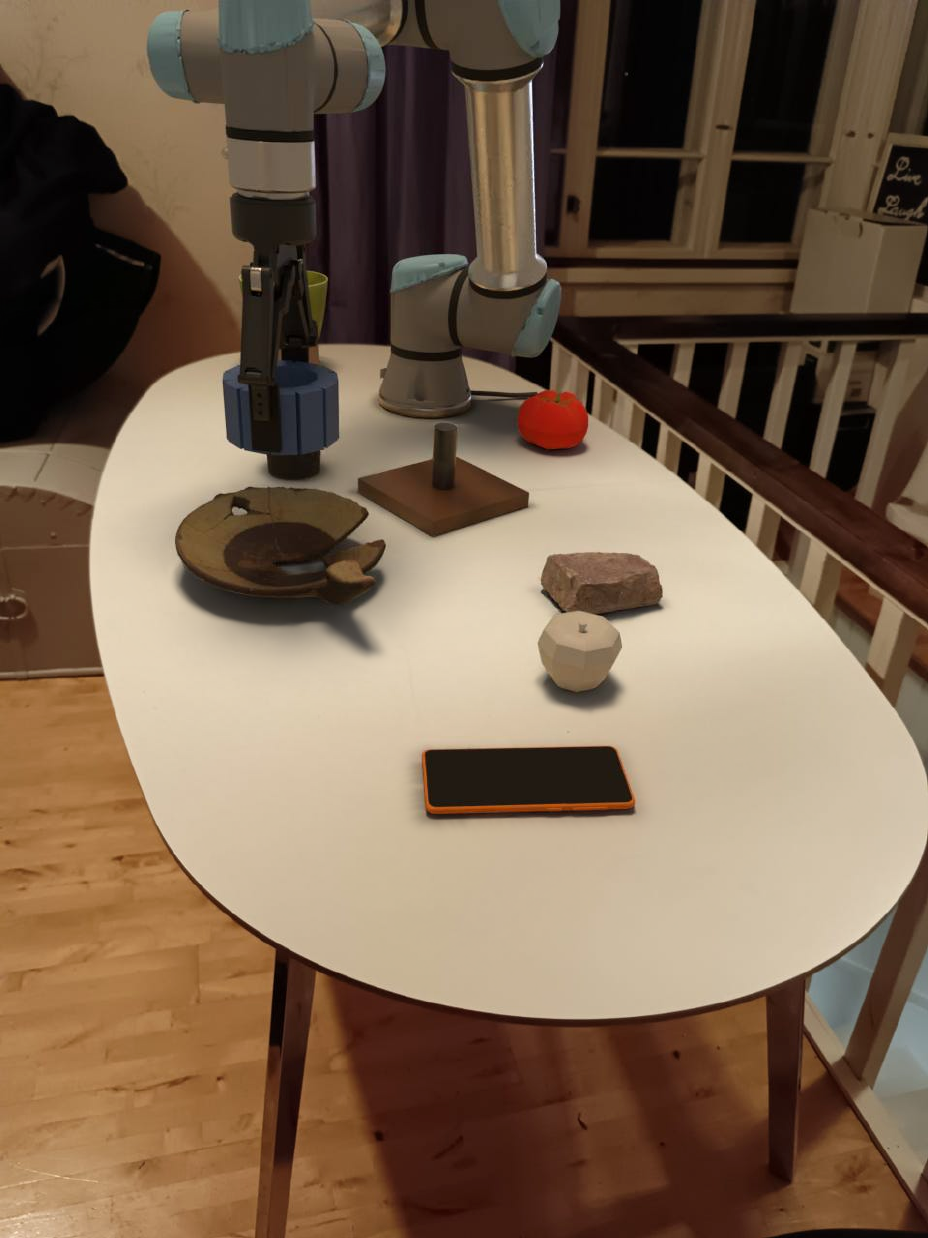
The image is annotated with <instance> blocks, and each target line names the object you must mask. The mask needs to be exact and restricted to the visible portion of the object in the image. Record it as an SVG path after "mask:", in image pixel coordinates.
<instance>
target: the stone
mask: <svg viewBox="0 0 928 1238" xmlns="http://www.w3.org/2000/svg"><path fill="white" fill-rule="evenodd" d="M659 574H660V573H659V570H658V568H657V567H656V565H654V564H651V562H650V561H648V560H647V559H645V558H643V557H641V555H639V554H633V553H628V552H601V551H597V552H594V551H589V552H587V551H586V552H573V553H558V554H555V553H554V554H552V555H551V554H549V555H548V556H547V558H546V561H545V564H544V566H543V569H542V573H541V576H540V585H541V586H542V588H543V589H544V590H545V591H547V592H548V594H549V595H550V598H552V599H553V601H554V602H555V603H557V604H558V607H560V608H561V610H562V611H565V613H568V612H574V611H582V612H586V613H590V614H594V615H598V614H599V615H600V614H604V613H611V612H615V611H620V610H630V609H636V608H641V607H647V606H656V605H657V604H659V603H660V602H661V600H662V598H663V595H664V594H663V593H664V588H663V585H662V584H661V581H660V575H659Z"/></svg>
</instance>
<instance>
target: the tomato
mask: <svg viewBox="0 0 928 1238" xmlns="http://www.w3.org/2000/svg"><path fill="white" fill-rule="evenodd" d="M537 393H538V394H536V395H535V396H534V397H527V398H526V399H525V400H523V402H522V403H521V405H520V407H519V410H518V414H517V419H516V421H517V429H518V431H519V434H520V436H521V437H522V438H523V439H524V440H525V441H526V442H527V443H530V444H531V445H536V446H538V447H542V448H543V449H545V450H547V451H548V450H557V449H563V450H567V449H571V448H573V447H576V446H577V445H579V444H580V443H581V442H582V441H583V440H584V438H585V437H586V435H587V433H588V429H589V414H588V411H587V408H586V407H585V406H584V404H583V402H582V401H581V400H580V399H579V398H578V397H577V396H576V394H575V393H572V392H569V391H566V390H565V391H563V392H562V391H559V392H557V391H555V390H553V389H544V390H542V391H540V392H537Z"/></svg>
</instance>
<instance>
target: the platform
mask: <svg viewBox="0 0 928 1238" xmlns="http://www.w3.org/2000/svg"><path fill="white" fill-rule="evenodd" d="M458 430H459V428H458V425H457V424H454V423H451V422H438V423H435V424H434V425H433V438H432V439H433V440H432V441H433V443H432V458H431V459H427V460H423V461H419V462H416V463H411V464H407V465H403V466H400V467H396V468H391V469H387V470H384V471H379V472H375V473H373V474H368V475H365V476H360V477H357V493H358V494H361V495H362V496H364V497H365V498H367V499H369V500H370V501H372V502H374V503H375V504H377V505H379V506H381V507H382V508H383V509H385V510H387V511H388V512H391V513H392V514H394V515H396V516H397V517H399V518H401V519H402V520H404V521H406V522H408V523H409V524H410V525H412V526H414V527H416V528H418V529H419V530H421V531H422V532H424V533H426V534H427V535H429V536H431V537H435V536H439V535H441V534H442V535H443V534H445V533H448V532H451V531H455V530H457V529H461V528H464V527H467V526H471V525H474V524H477V523H480V522H483V521H486V520H489V519H490V520H491V519H493V518H496V517H499V516H502V515H505V514H509V513H512V512H516V511H518V510H521V509H524V508H527V507H529V500H530V492H529V491H527V490H525V489H523V488H521V487H519V486H518V485H517V486H516V485H515V484H513V483H511V482H509V481H507V480H505V479H503V478H501V477H498V476H497V475H495V474H493V473H491V472H489V471H487V470H485V469H484V468H483V469H482V468H481V467H479V466H477V465H474V464H472V463H471V462H469V461H466V460H465V459H462V458H461V457H458V456H457V447H458Z"/></svg>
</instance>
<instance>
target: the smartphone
mask: <svg viewBox="0 0 928 1238" xmlns="http://www.w3.org/2000/svg"><path fill="white" fill-rule="evenodd" d="M621 759H622V758H621V757H620V753H619V751H618V749H617V747H615V746H613V745H574V746H573V745H572V746H571V745H570V746H527V747H526V746H525V747H521V746H519V747H478V748H477V747H476V748H473V747H471V748H431V749H425V750H423V751H422V752H421V763H422V776H423V783H424V785H423V787H424V789H423V790H424V801H425V808H426V811H427V812H429V813H431V814H434V815H442V814H443V815H444V814H445V815H446V814H449V815H450V814H480V813H481V814H482V813H516V812H517V813H520V812H521V813H522V812H562V811H607V810H626V809H627V810H628V809H631V808H633V807H635V805H636V798H635V795H634V793H633V790H632V787H631V785H630V784H631V783H630V781H629V778H628V776H627V773H626V769H625V767H624V765H623V762H622V760H621Z"/></svg>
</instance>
